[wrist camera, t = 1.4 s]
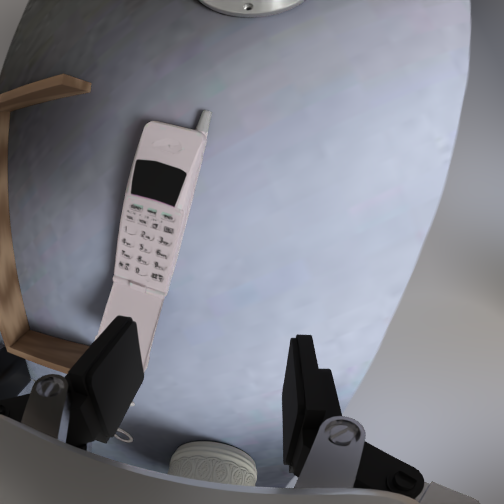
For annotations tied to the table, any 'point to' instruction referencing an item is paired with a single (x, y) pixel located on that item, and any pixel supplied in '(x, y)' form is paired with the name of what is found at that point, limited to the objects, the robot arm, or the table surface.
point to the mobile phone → (154, 223)
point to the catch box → (3, 262)
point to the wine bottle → (12, 374)
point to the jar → (213, 463)
